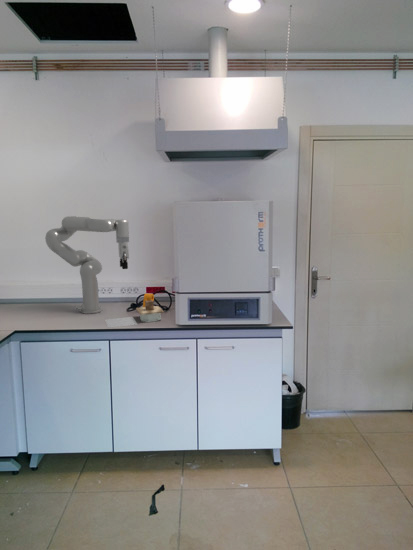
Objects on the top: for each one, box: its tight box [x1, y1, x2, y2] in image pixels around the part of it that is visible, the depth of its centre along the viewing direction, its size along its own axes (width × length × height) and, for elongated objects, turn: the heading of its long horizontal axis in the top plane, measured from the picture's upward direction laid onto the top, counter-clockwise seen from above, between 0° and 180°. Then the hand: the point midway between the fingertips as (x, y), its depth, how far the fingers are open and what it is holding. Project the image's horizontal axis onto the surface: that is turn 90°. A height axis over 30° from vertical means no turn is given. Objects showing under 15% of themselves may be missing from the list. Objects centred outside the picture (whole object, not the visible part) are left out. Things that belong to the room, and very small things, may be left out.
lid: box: [135, 300, 164, 316], centre depth 223 cm, size 14×14×6 cm
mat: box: [104, 316, 138, 328], centre depth 218 cm, size 16×16×1 cm
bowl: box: [139, 313, 162, 323], centre depth 223 cm, size 11×11×6 cm
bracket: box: [142, 292, 155, 307], centre depth 239 cm, size 11×7×12 cm, turn 166°
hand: (123, 267), depth 236 cm, fingers open, 9 cm apart
